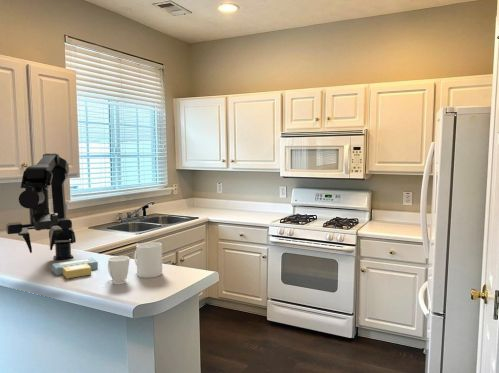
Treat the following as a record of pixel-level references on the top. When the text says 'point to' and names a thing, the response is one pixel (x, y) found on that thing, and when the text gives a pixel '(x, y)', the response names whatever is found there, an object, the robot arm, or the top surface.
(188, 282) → the top surface
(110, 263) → the cup
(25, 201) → the robot arm
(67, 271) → the yellow box
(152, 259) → the mug
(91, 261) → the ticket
